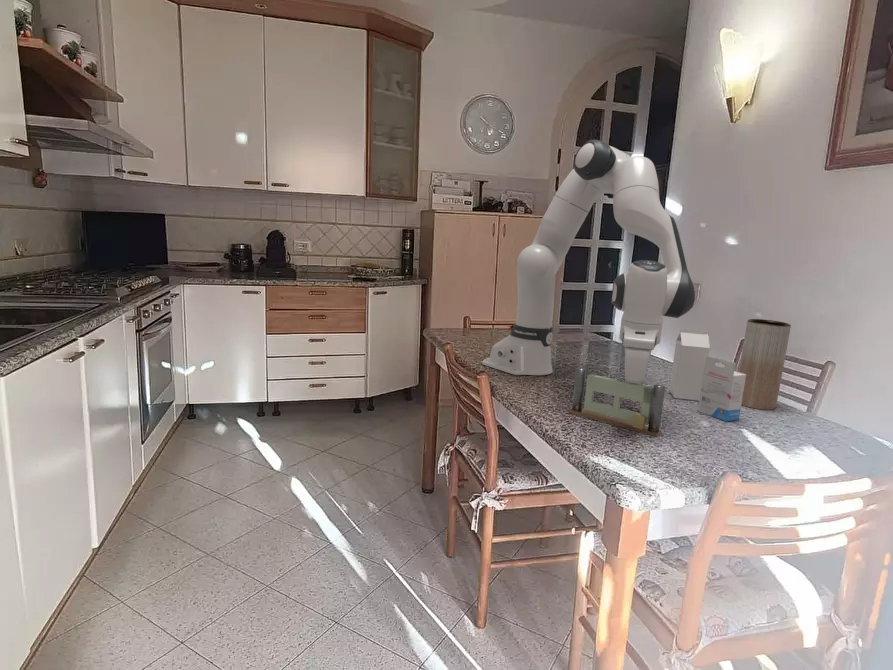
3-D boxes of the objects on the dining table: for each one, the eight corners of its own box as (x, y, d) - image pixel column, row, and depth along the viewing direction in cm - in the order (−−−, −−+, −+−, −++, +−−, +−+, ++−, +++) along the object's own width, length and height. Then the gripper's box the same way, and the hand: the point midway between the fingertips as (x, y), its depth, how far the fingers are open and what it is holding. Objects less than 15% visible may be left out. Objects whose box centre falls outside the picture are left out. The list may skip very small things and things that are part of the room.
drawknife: (568, 412, 131) (573, 368, 129) (574, 409, 134) (579, 366, 132) (656, 436, 119) (663, 388, 117) (661, 433, 121) (667, 385, 119)
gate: (583, 409, 130) (587, 374, 128) (586, 407, 131) (589, 373, 129) (646, 425, 121) (651, 388, 119) (648, 423, 122) (653, 387, 121)
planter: (784, 410, 143) (800, 326, 139) (748, 409, 142) (763, 324, 138) (760, 399, 153) (774, 319, 149) (726, 397, 152) (739, 318, 148)
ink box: (739, 420, 133) (749, 362, 131) (726, 422, 131) (736, 363, 128) (710, 409, 141) (718, 354, 138) (696, 411, 139) (705, 355, 136)
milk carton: (701, 401, 147) (712, 333, 143) (674, 398, 148) (683, 330, 145) (695, 394, 154) (705, 328, 150) (668, 391, 155) (678, 326, 152)
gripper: (628, 324, 133) (621, 378, 136) (623, 340, 114) (615, 402, 117) (655, 327, 131) (648, 382, 134) (654, 343, 112) (646, 407, 115)
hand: (632, 391), depth 125 cm, fingers closed
